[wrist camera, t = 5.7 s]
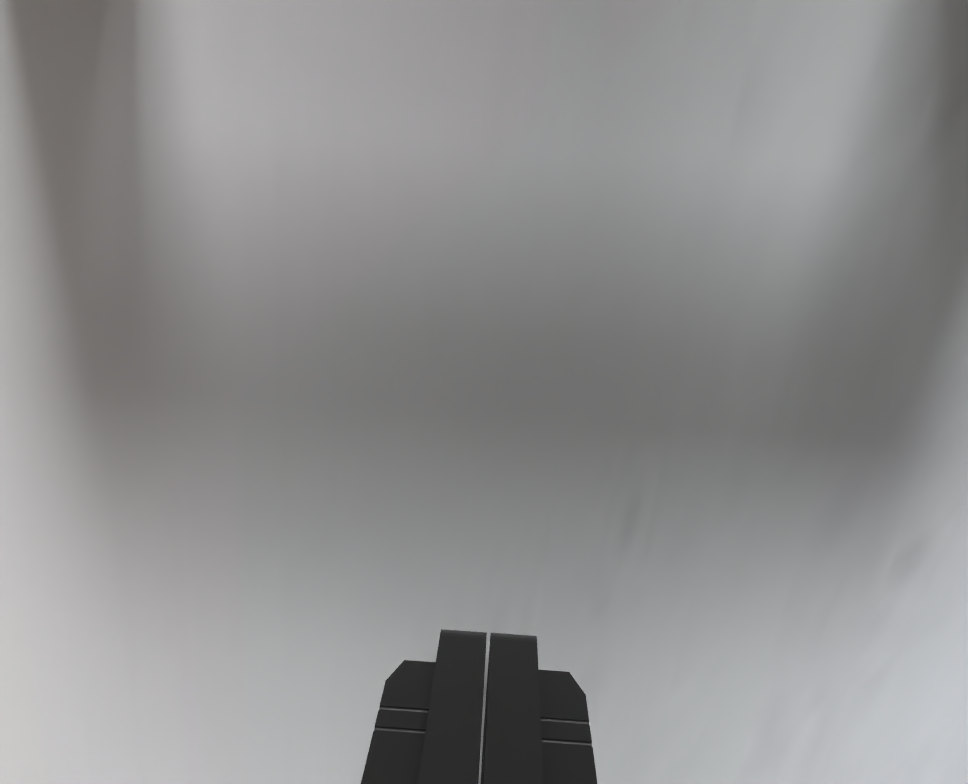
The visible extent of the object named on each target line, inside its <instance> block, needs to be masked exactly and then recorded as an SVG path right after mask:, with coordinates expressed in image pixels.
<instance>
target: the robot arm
mask: <svg viewBox="0 0 968 784" xmlns="http://www.w3.org/2000/svg"><path fill="white" fill-rule="evenodd" d="M486 636H487V633H484V632H470V631H456V630H442V629H441V633H440V639H439V646H438V652H437V659H436V662H422V661H408V660H404V661H403V662H402V663H401V665H400V666H399V667H398V668H397V669H396V670H395V671H394V672H393V673H392V674H391V675H390V677H389V678H388V679H387V680H386V682H385V686H384V690H383V694H382V698H381V703H380V709H379V711H378V715H377V719H376V723H375V730H374V732H373V736H372V740H371V744H370V748H369V752H368V757H367V761H366V765H365V769H364V773H363V777H362V782H361V784H478V778H479V760H480V742H481V725H482V707H483V689H484V671H485V653H486ZM481 784H597V778H596V771H595V763H594V756H593V748H592V740H591V733H590V726H589V717H588V710H587V702H586V695H585V694H584V692H583V691H582V689H581V688H580V687H579V685H578V684H577V682H576V681H575V680H574V678H573V677H572V675H571V674H570V673H569V672H562V671H548V670H538V654H537V637H536V636H528V635H514V634H500V633H491V635H490V649H489V663H488V677H487V691H486V705H485V719H484V734H483V751H482V769H481Z"/></svg>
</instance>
